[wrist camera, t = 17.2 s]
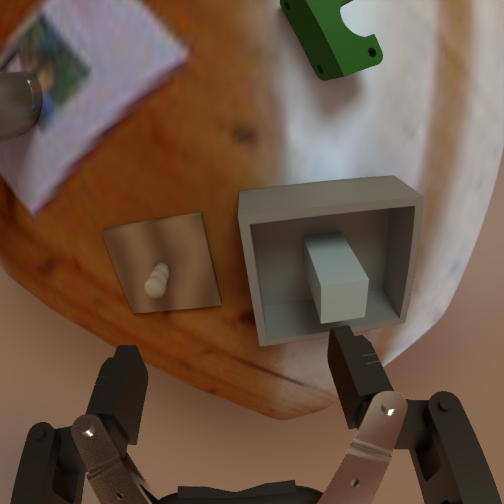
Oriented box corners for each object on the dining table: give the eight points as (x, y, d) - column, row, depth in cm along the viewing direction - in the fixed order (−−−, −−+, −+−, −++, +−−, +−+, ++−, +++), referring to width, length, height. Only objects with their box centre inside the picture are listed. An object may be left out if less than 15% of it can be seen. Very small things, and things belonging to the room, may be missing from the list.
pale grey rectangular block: (303, 236, 40) (321, 286, 30) (341, 231, 40) (368, 279, 30) (304, 269, 42) (320, 323, 33) (340, 264, 42) (364, 316, 33)
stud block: (134, 309, 47) (123, 337, 41) (104, 228, 40) (85, 251, 34) (221, 301, 46) (219, 331, 40) (201, 212, 39) (194, 234, 34)
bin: (257, 307, 47) (259, 346, 40) (239, 191, 38) (237, 216, 31) (385, 289, 46) (405, 322, 39) (393, 175, 37) (423, 196, 30)
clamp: (338, 57, 34) (387, 75, 28) (300, 71, 34) (346, 91, 28) (317, -26, 25) (370, -26, 19) (273, -17, 24) (320, -20, 18)
